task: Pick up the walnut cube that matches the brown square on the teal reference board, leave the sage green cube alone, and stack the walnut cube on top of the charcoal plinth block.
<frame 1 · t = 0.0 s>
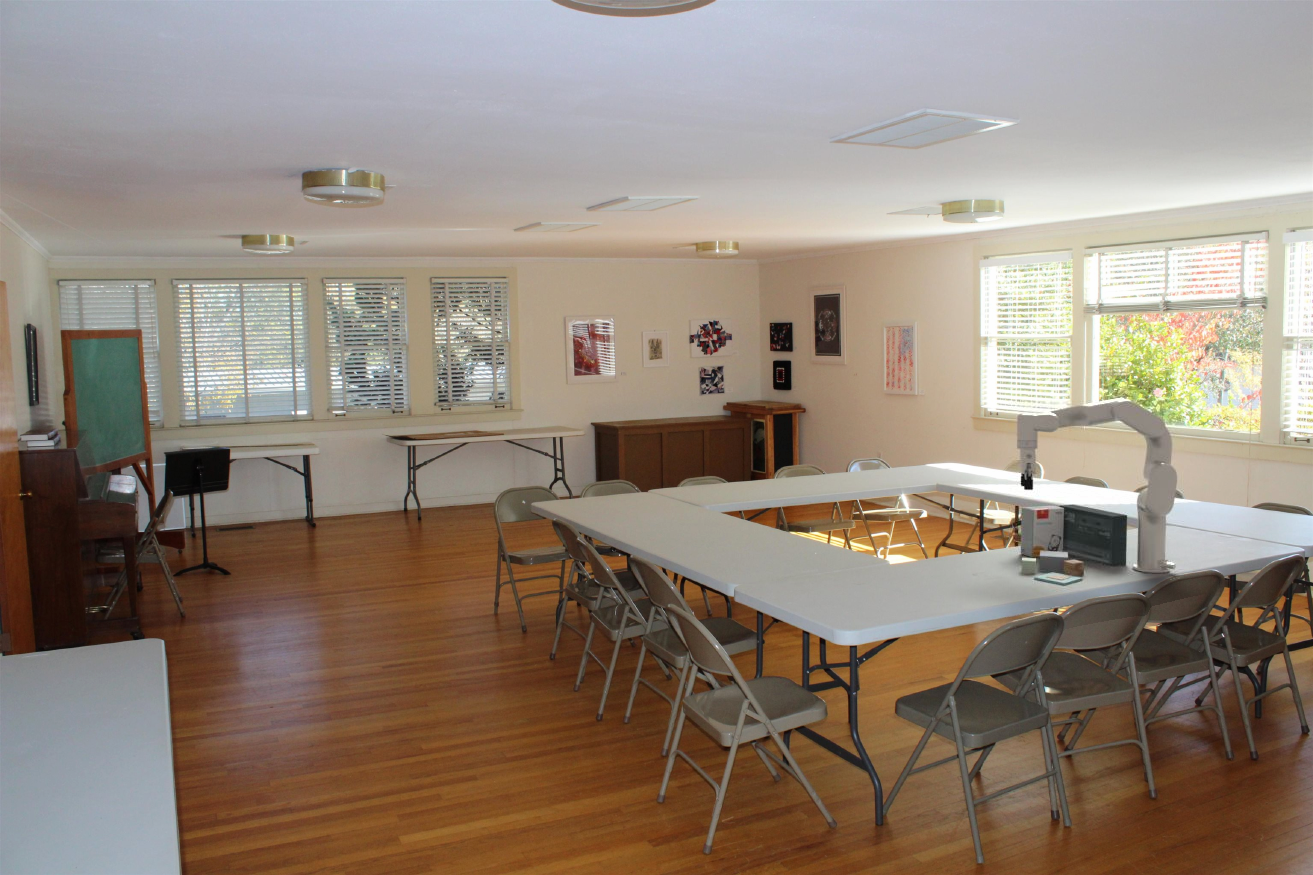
hand: (1026, 487, 364), 31 cm above the table, tool pointing down, fingers open, 9 cm apart
sage cube: (1028, 572, 357), on the table
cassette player: (1091, 559, 377), on the table
plinth: (1053, 568, 362), on the table
hard drive box: (1041, 554, 386), on the table
reference board: (1058, 579, 344), on the table
walnut cube: (1073, 574, 352), on the table
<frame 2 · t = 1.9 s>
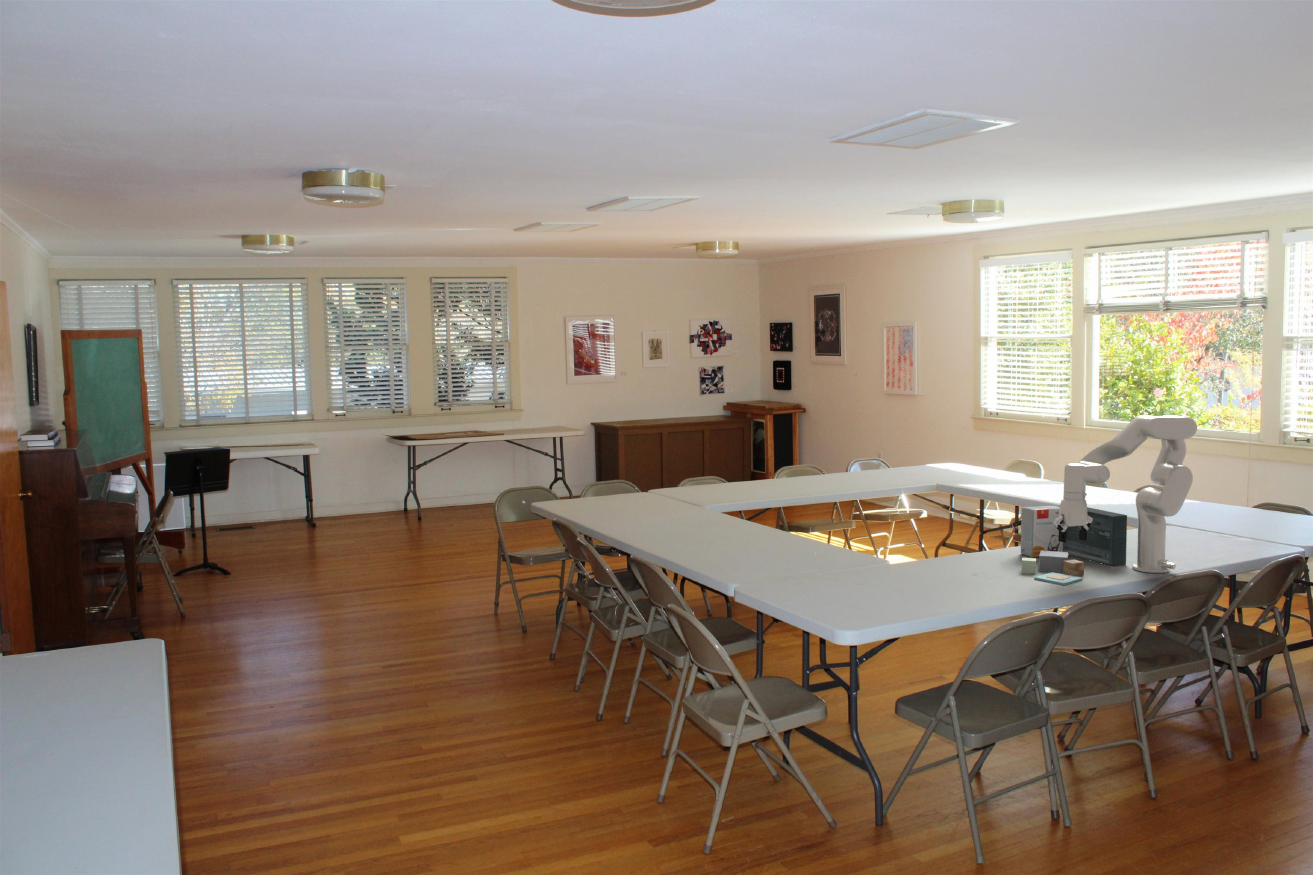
hand: (1072, 540, 351), 13 cm above the table, tool pointing down, fingers open, 9 cm apart
nothing on the table moved.
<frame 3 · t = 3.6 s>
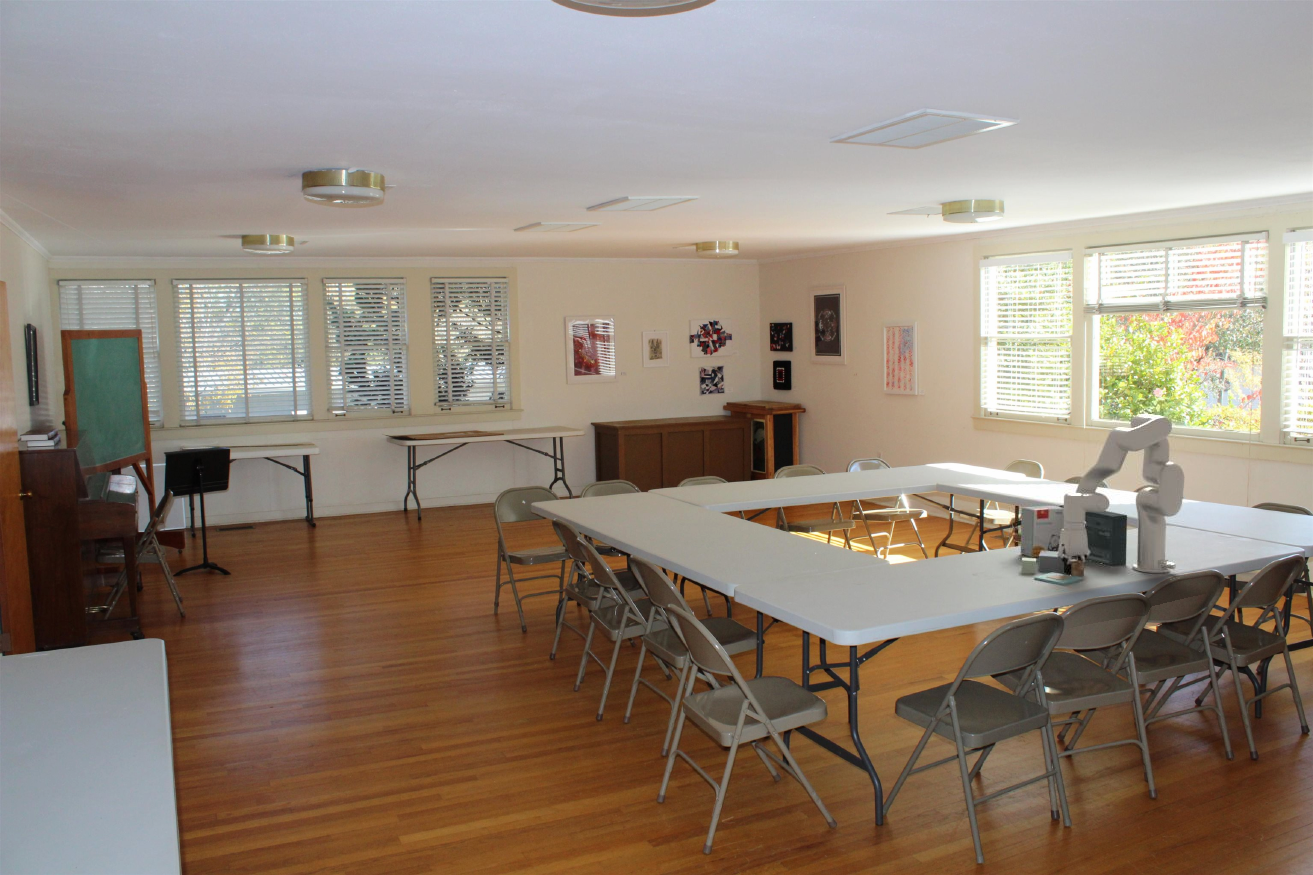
hand: (1073, 572, 352), 1 cm above the table, tool pointing down, fingers closed on walnut cube, 5 cm apart
walnut cube: (1073, 574, 352), on the table, touching gripper
everything else where it was.
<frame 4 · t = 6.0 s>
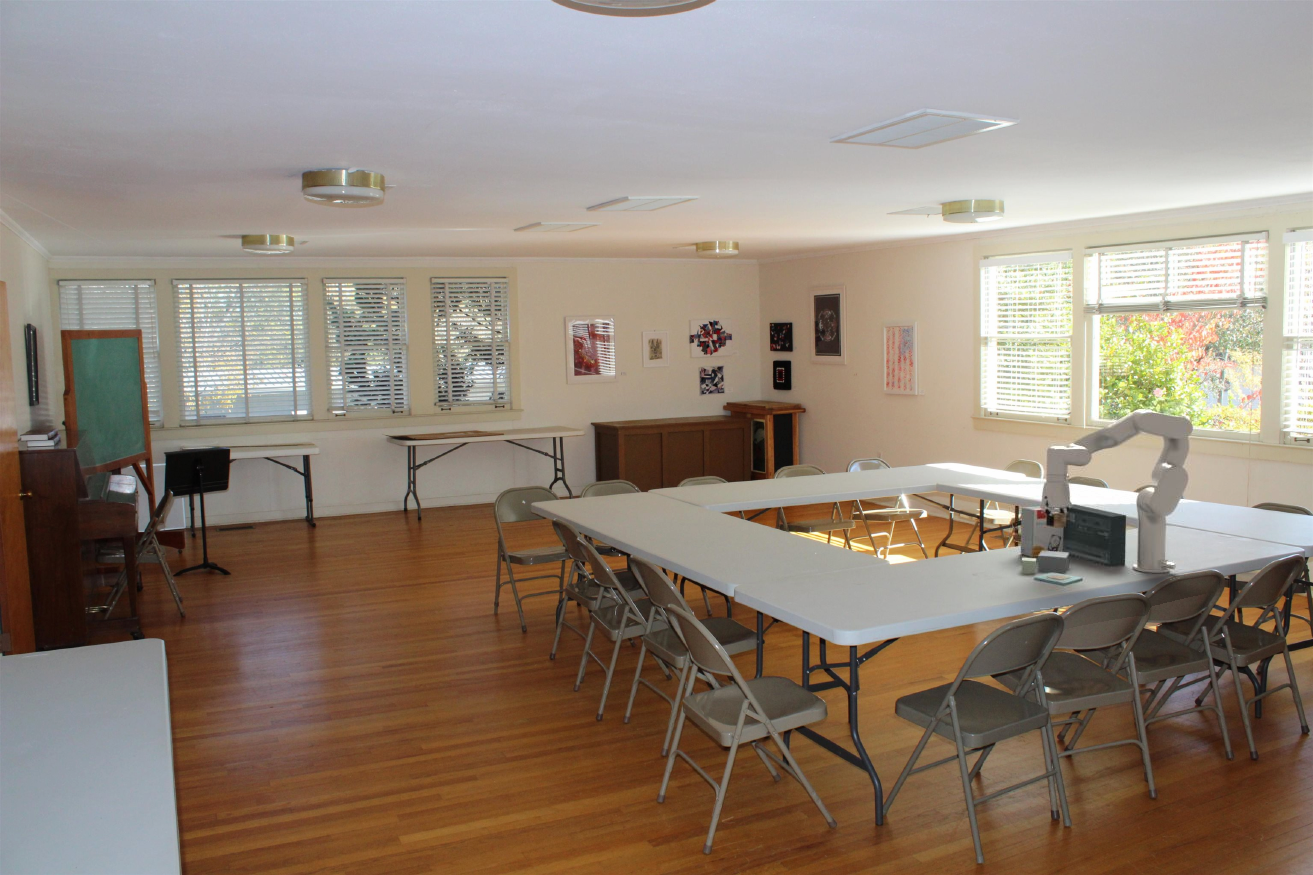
hand: (1055, 524, 359), 18 cm above the table, tool pointing down, fingers closed on walnut cube, 5 cm apart
walnut cube: (1055, 526, 359), point 17 cm above the table, touching gripper
everything else where it was.
when the fingers open (8 cm above the table, at t = 8.3 s): walnut cube drops 1 cm, resting on plinth.
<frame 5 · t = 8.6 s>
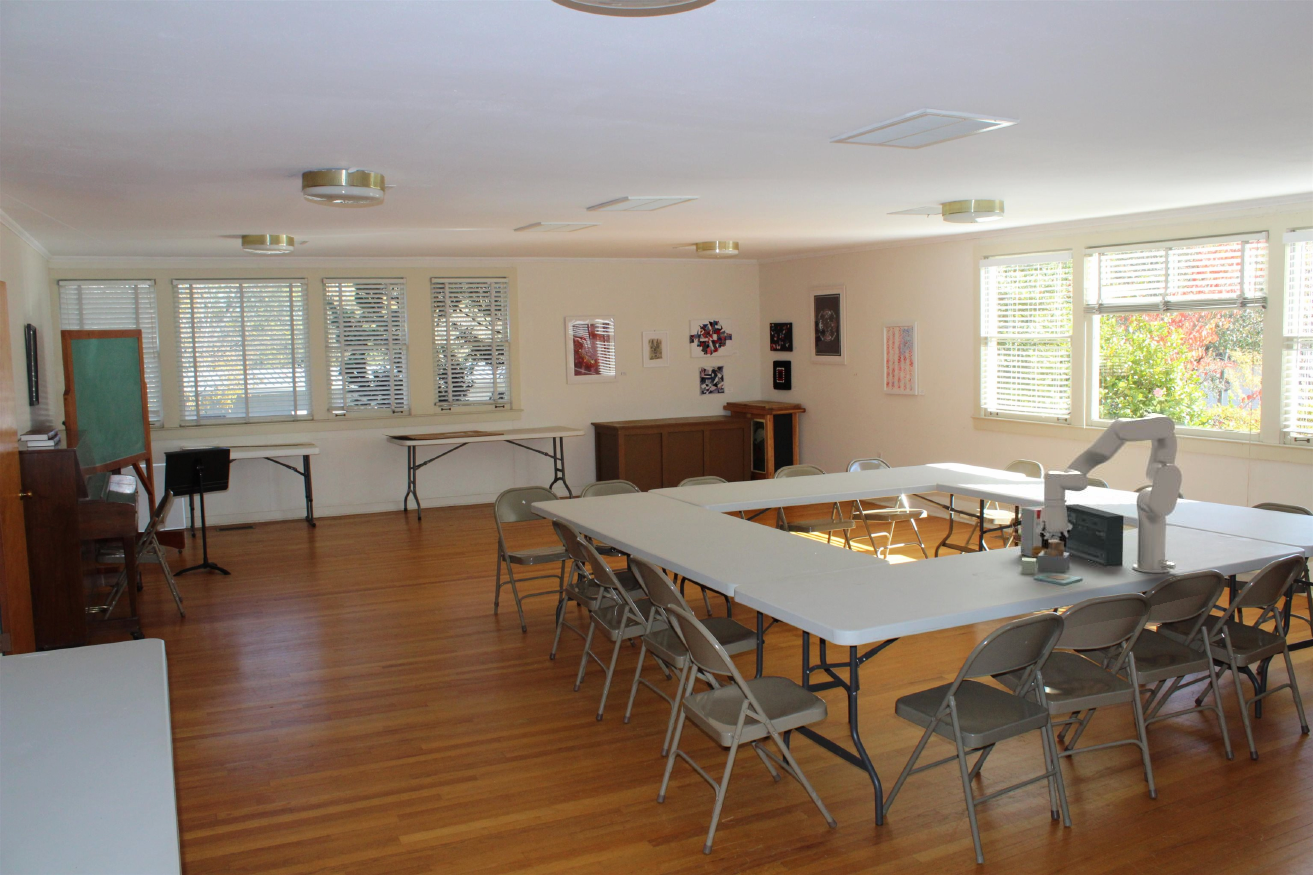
hand: (1053, 547, 361), 8 cm above the table, tool pointing down, fingers open, 8 cm apart
plinth: (1053, 569, 362), on the table, touching walnut cube
walnut cube: (1053, 553, 361), point 6 cm above the table, touching plinth
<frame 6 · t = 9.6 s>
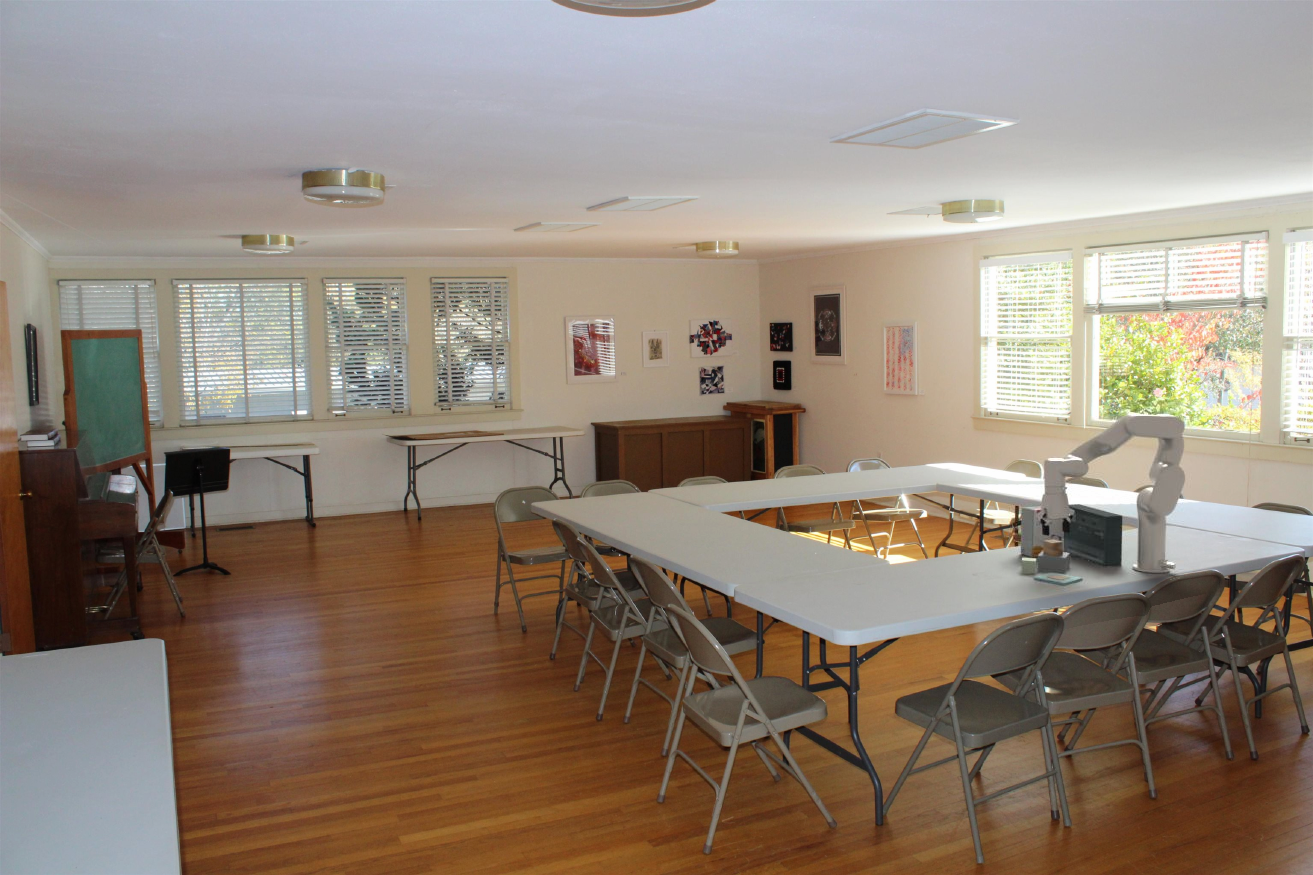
hand: (1056, 533, 360), 14 cm above the table, tool pointing down, fingers open, 9 cm apart
plinth: (1053, 569, 361), on the table
walnut cube: (1053, 553, 361), point 6 cm above the table
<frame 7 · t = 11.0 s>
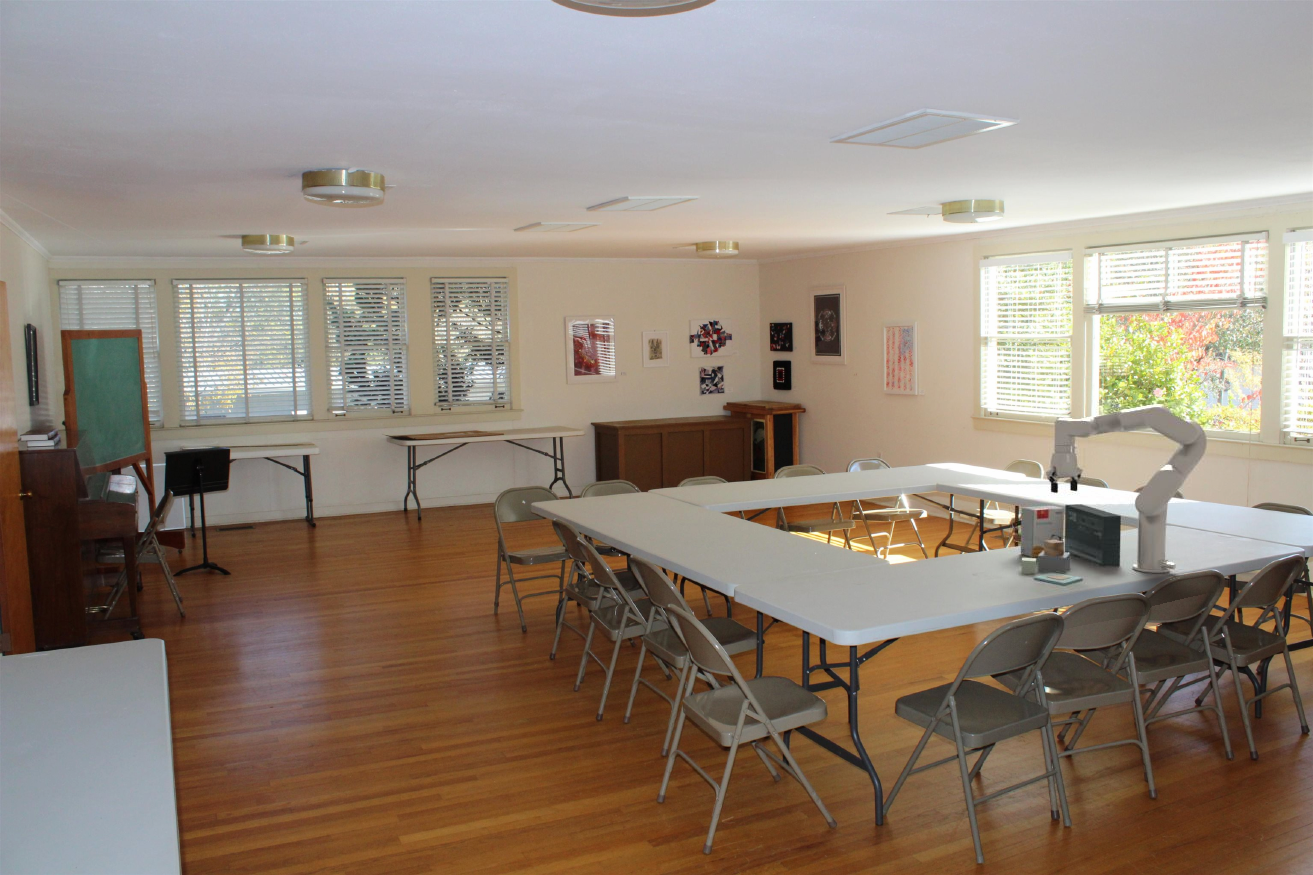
hand: (1064, 491, 372), 28 cm above the table, tool pointing down, fingers open, 9 cm apart
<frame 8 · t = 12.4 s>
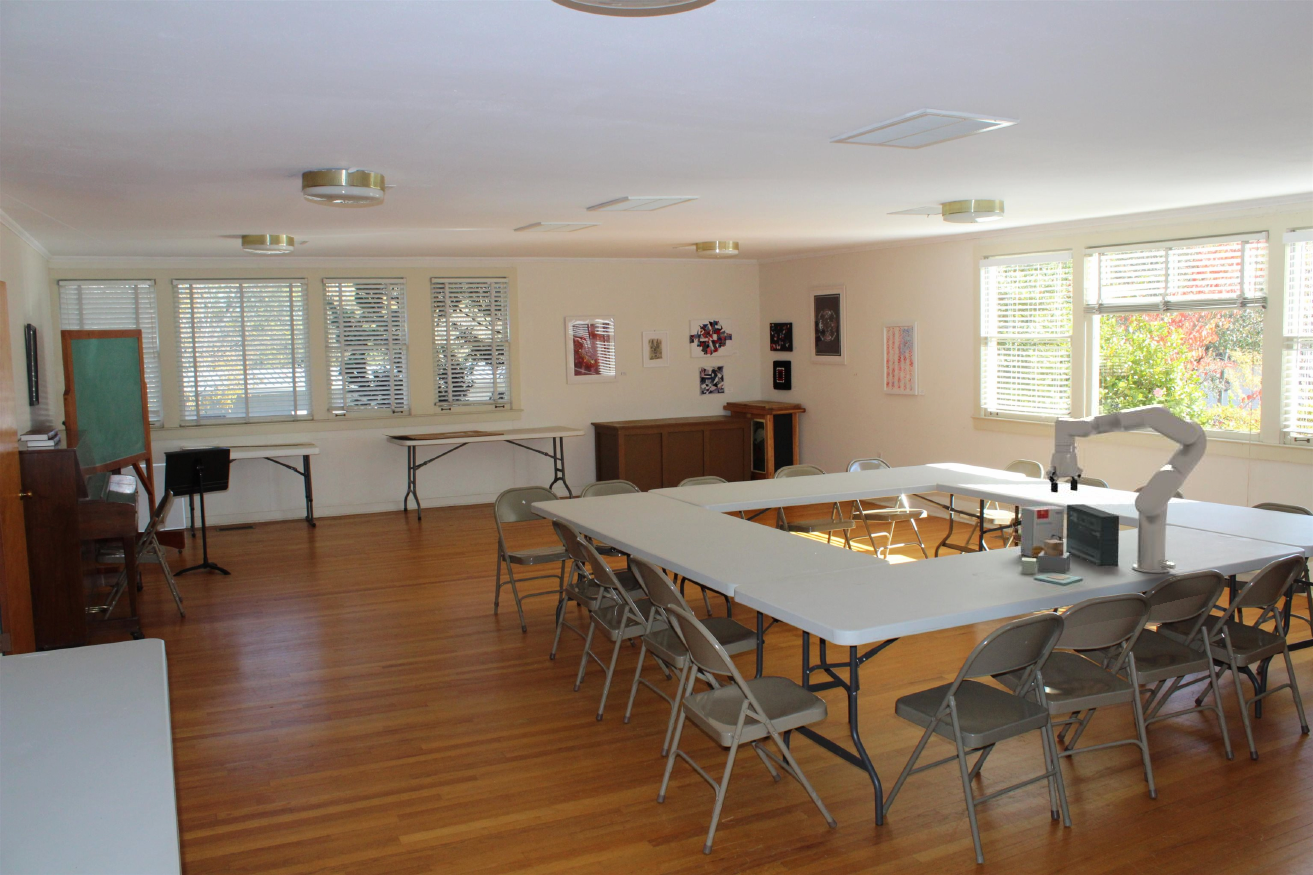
hand: (1064, 491, 372), 28 cm above the table, tool pointing down, fingers open, 9 cm apart
at the end: walnut cube 0.2 cm off-centre on the plinth, point 6.0 cm above the plinth's base; walnut cube tilted 0°; sage cube moved 0.1 cm from its start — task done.
